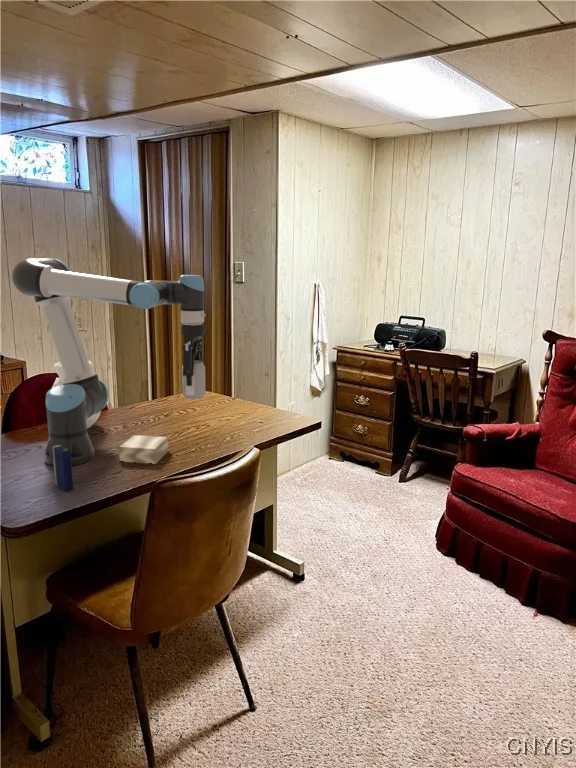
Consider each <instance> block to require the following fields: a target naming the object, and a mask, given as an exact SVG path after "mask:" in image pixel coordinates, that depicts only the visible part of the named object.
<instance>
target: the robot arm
mask: <svg viewBox="0 0 576 768" xmlns="http://www.w3.org/2000/svg"><path fill="white" fill-rule="evenodd" d="M11 280H12V282H13V285H14V287H15V288H16V289H17V291H19V292H20V293H21V294H23V295H24V296H25V295H26V296H29V297H33V298H34V300H35V303H36V304H37V305H38V306H40V307H41V308H42V310H43V312H44V316H45V319H46V321H47V324H48V328H49V330H50V331H49V332H50V334H51V337H52V340H53V343H54V346H55V349H56V353H57V356H58V358H59V362H61V365H62V368H63V371H64V374H65V378H64V380H63V382H62V384H63V385H61V386H57V387H54V388H52V387H51V388H50V389H49V390H48V391H46V394H45V408H46V418H47V430H48V440H47V445H46V447H45V452H44V461H45V463H46V464H48V465H49V466H53V467H54V464H53V446H56V445H61V446H63V447H64V448H66V449H67V450H69V451H70V454H71V467H72V465H73V466H78V465H81V464H85V463H87V461H88V462H90V461H91V459H92V460H93V459H94V458H95V456H96V455H95V448H94V446H93V444H92V443H93V442H92V441H91V439H90V436H89V434H88V428H87V418H89V417H91V416H92V415H94V414H96V413H98V412H100V411H101V412H102V410H103V409H104V408H105V407H106V406H107V404H108V402H109V397H110V394H109V393H110V391H109V388H108V387H107V385H106V383H105V382H103V381H102V380H100V379H99V376H98V373H97V372H96V371H94V370H93V369H92V367H91V368H90V365H89V362H88V360H89V359H88V356H87V353H86V349H85V347H84V343H83V341H82V340H83V339H82V336H81V334H80V331H79V327H78V324H77V322H76V318H75V315H74V313H73V312H74V311H73V309H72V306H71V298H73V299H82V300H89V301H97V302H105V303H113V304H118V305H126V306H133V307H135V308H138V309H141V310H149V309H152V308H155V307H159V306H162V305H176V306H177V305H180V323H181V325H180V335H181V336H182V337H186V341H185V343H183V345H182V352H183V358H182V362H183V363H182V366H183V376H185V377H186V395H195V390H194V375H193V370H194V360H197V361H202V362H203V363H204V353H203V341H204V340H203V338H201V337H202V336H203V337H204V335H205V330H206V329H205V324H204V322H205V317H206V313H205V285H204V283H205V282H204V277H203V276H202V275H200V274H199V275H198V274H181V275H180V276H179V279H178V280H157V279H153V280H152V279H150V280H145V281H139V280H131V279H125V278H116V277H110V276H102V275H96V274H89V273H88V274H87V273H80V272H73V271H72V270H71V269H70V267H69V266H68V264H66V263H65V262H64V261H62V260H60V259H56V258H53V257H45V258H44V257H43V258H25V259H23V260H21V261H19V262H18V263H17V264H16V265H15V266H14V267H13V269H12V274H11Z"/></svg>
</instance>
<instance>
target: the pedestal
mask: <svg viewBox="0 0 576 768" xmlns="http://www.w3.org/2000/svg"><path fill="white" fill-rule="evenodd" d="M118 448H119V449H118V455H119V462H120V461H124V462H123V463H134V462H136V463H137V464H149V463H152V464H153V465H156V464H158V462H159V461H161V459H162V458H163V457H164V456H165V455H167V453H168V452H169V437H167V436H156V435H155V436H152V435H151V436H150V435H139V434H138V435H135V434H134V435H132V436H131V437H130V438H128V439H127V440H126V441H124V442H123V443H122V444H121V445H120V446H119V447H118Z"/></svg>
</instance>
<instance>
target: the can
mask: <svg viewBox="0 0 576 768" xmlns="http://www.w3.org/2000/svg"><path fill="white" fill-rule="evenodd" d="M181 375H182V376H181V378H182V379H181V381H182V396H183V397H184V398H185V399H189V400H199V399H202V398H203V397H205V396H206V366H205V364H204V361H203V362H202V361H197V360H194V370H193V375H194V390H195V395H186V377H185V376H183V365H182V366H181Z"/></svg>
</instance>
